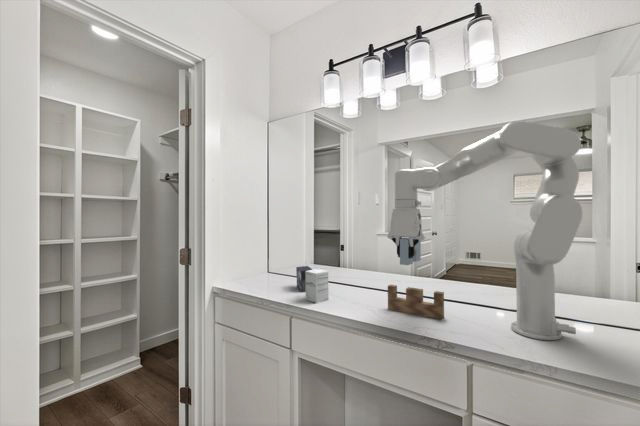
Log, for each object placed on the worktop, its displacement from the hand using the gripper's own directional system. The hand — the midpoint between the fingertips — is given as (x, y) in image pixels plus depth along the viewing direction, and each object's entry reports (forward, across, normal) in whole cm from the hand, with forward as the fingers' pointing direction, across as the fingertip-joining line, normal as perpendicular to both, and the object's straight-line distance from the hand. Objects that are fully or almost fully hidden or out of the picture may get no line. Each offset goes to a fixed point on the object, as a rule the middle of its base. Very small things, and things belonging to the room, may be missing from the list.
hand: (405, 256), depth 103 cm
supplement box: (+23, +39, -1) cm, 45 cm away
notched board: (+22, -1, -7) cm, 23 cm away
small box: (+23, +55, -12) cm, 61 cm away
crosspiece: (+3, 0, -5) cm, 6 cm away
